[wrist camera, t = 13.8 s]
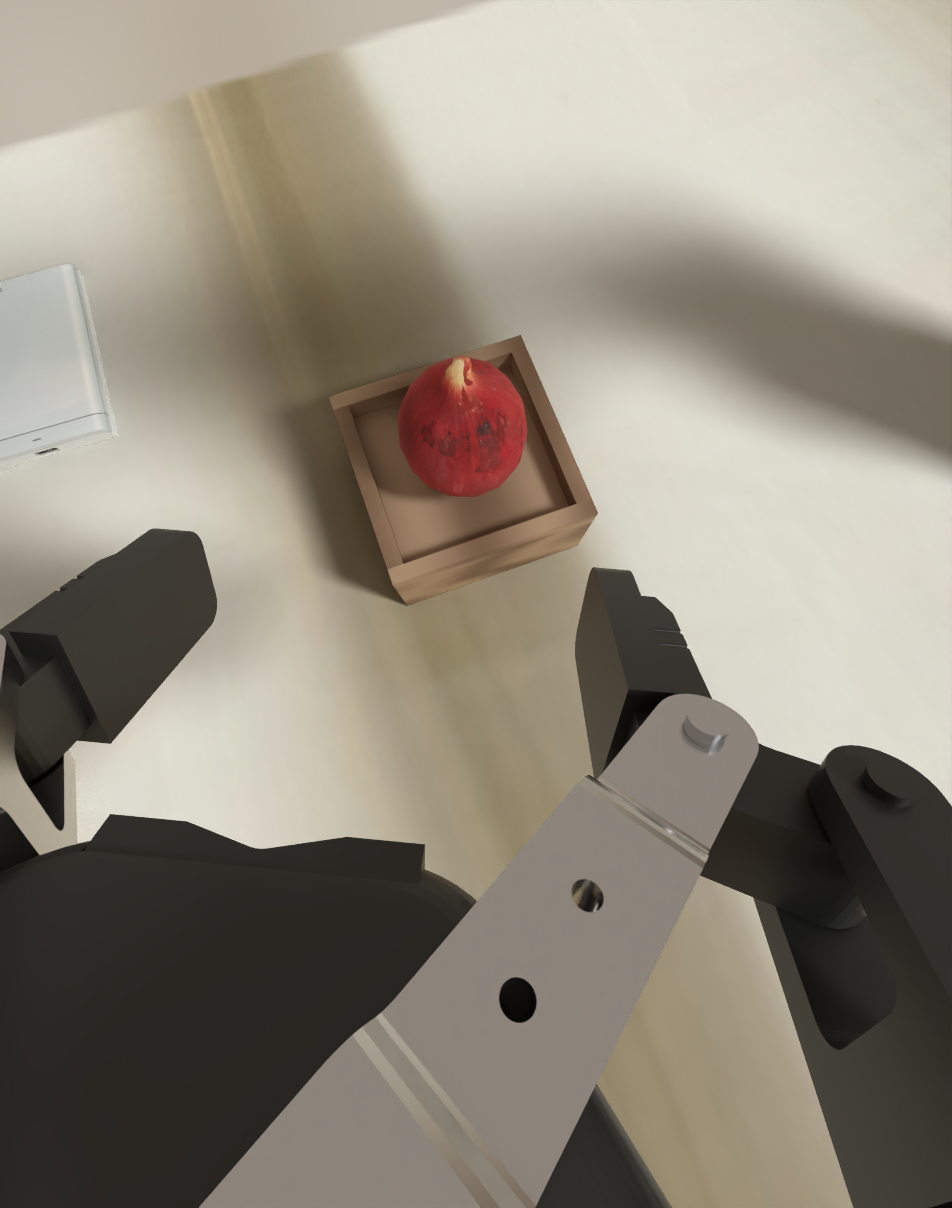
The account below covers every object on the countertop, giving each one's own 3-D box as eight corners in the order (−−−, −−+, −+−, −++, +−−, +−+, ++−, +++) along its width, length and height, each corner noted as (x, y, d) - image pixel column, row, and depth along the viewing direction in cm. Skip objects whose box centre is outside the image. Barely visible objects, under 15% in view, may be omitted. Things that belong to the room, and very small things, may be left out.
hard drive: (-58, 295, 32) (-34, 466, 30) (71, 260, 33) (105, 426, 30) (-32, 315, 34) (-7, 479, 31) (90, 282, 34) (124, 440, 32)
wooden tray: (513, 394, 32) (520, 335, 27) (577, 545, 30) (597, 512, 25) (352, 447, 31) (328, 396, 26) (407, 605, 29) (392, 584, 24)
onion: (539, 491, 26) (565, 402, 18) (438, 538, 26) (422, 467, 18) (489, 400, 27) (494, 279, 19) (391, 444, 27) (356, 337, 19)
